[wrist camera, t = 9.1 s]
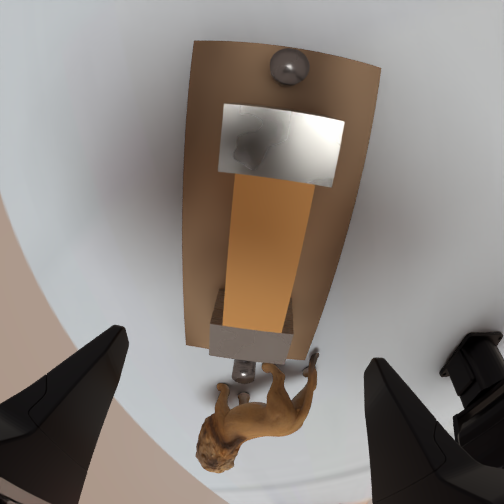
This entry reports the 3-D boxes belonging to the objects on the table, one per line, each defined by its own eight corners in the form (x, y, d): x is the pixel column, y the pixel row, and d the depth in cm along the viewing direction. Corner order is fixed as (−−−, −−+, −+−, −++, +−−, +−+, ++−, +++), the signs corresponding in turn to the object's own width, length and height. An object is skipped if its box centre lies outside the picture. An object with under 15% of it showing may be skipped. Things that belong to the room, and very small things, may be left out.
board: (375, 69, 13) (407, 62, 9) (304, 351, 24) (306, 394, 20) (198, 43, 13) (172, 27, 9) (188, 336, 24) (175, 377, 20)
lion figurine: (232, 412, 31) (223, 480, 23) (194, 394, 29) (178, 465, 21) (334, 359, 25) (346, 448, 17) (295, 332, 23) (299, 432, 15)
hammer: (329, 116, 14) (344, 121, 11) (283, 328, 21) (284, 364, 18) (234, 102, 14) (224, 103, 11) (217, 319, 21) (209, 355, 18)
